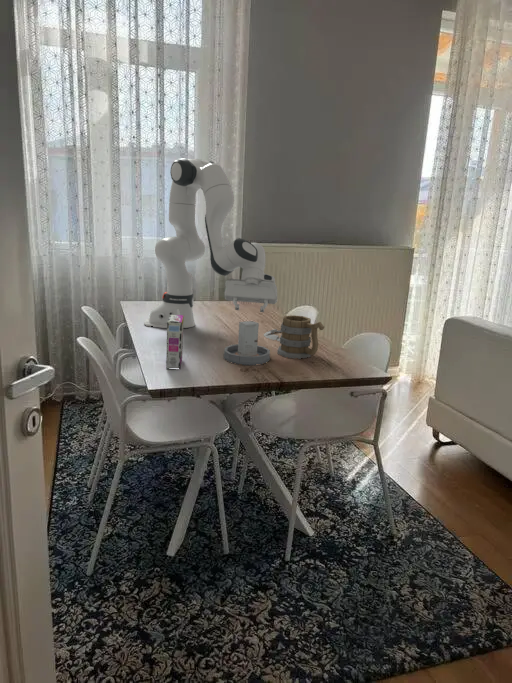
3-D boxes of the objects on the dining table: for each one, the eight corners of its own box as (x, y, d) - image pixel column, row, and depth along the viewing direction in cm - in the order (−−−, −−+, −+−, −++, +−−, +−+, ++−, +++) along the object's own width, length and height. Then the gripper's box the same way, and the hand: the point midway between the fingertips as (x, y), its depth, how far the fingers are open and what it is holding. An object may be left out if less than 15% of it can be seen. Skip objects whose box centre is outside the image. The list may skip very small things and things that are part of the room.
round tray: (221, 363, 181) (221, 355, 180) (225, 350, 197) (226, 342, 196) (269, 366, 180) (270, 358, 180) (270, 353, 197) (270, 345, 196)
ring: (275, 344, 211) (276, 339, 210) (256, 332, 228) (256, 328, 227) (316, 341, 219) (317, 337, 218) (295, 330, 236) (295, 326, 235)
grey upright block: (243, 357, 185) (245, 324, 182) (236, 354, 189) (238, 321, 185) (257, 355, 189) (259, 323, 185) (250, 352, 192) (252, 320, 189)
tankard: (271, 351, 199) (273, 313, 195) (296, 347, 207) (299, 311, 203) (305, 366, 184) (309, 325, 180) (331, 361, 191) (335, 322, 187)
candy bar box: (181, 370, 172) (182, 322, 167) (165, 369, 171) (166, 321, 167) (183, 360, 183) (184, 314, 178) (168, 359, 182) (169, 314, 178)
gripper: (225, 273, 198) (221, 303, 191) (278, 277, 197) (276, 307, 190) (226, 283, 203) (222, 312, 196) (278, 287, 203) (275, 316, 196)
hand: (249, 310), depth 193 cm, fingers open, 8 cm apart
